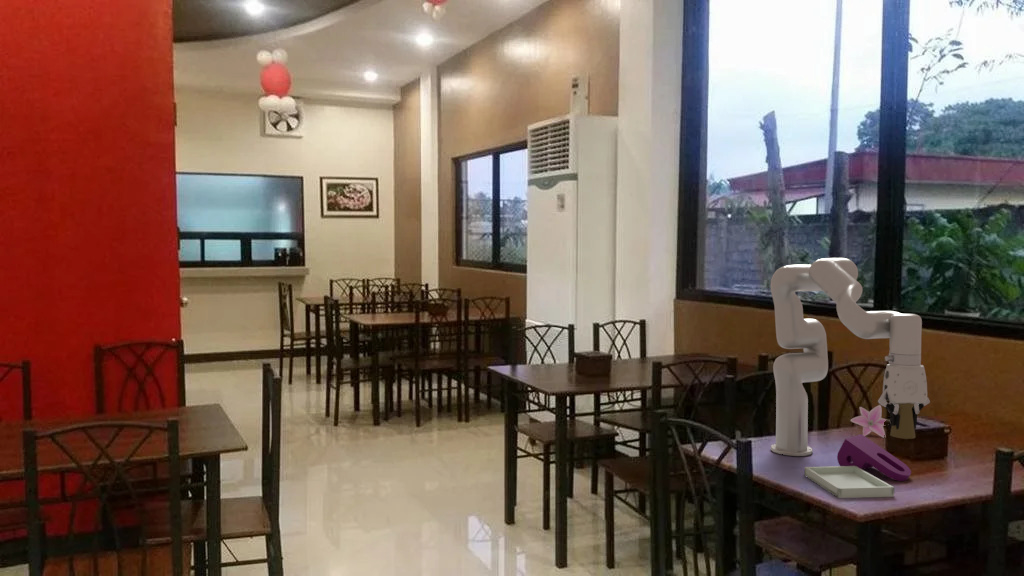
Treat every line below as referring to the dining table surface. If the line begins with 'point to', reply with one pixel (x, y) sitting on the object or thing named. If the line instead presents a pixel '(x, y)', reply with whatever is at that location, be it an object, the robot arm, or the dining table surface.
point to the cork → (904, 423)
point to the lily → (871, 421)
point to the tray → (849, 482)
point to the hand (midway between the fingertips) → (903, 427)
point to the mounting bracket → (871, 458)
